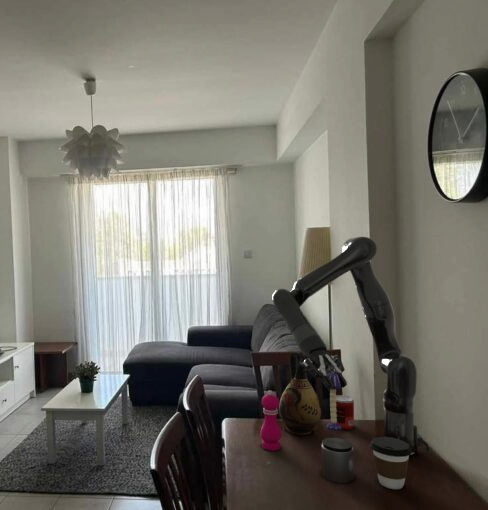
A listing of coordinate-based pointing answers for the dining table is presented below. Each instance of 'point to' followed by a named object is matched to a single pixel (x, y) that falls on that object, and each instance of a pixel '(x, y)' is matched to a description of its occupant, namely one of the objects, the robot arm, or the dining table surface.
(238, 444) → the dining table surface
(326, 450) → the grey metal canister
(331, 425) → the toy lamp
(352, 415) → the canned food
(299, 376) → the ceramic jug
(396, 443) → the coffee cup
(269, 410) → the pepper mill
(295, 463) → the dining table surface
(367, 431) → the dining table surface
